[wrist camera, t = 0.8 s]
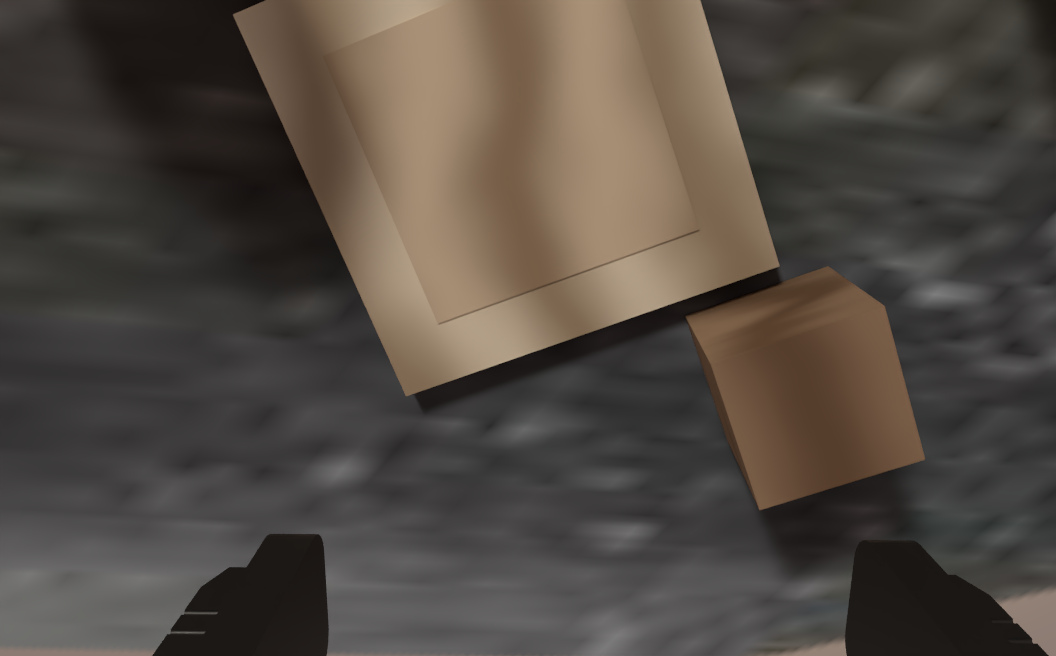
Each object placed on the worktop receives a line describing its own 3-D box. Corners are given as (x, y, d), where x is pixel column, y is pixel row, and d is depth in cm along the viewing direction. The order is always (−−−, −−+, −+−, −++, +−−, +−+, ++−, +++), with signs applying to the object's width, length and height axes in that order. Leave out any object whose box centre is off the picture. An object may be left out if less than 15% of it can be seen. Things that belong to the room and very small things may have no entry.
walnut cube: (827, 265, 33) (884, 305, 27) (863, 395, 34) (925, 459, 28) (684, 315, 33) (710, 364, 28) (726, 439, 35) (759, 510, 29)
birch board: (647, -159, 28) (650, -168, 27) (773, 260, 32) (780, 266, 31) (242, 16, 30) (231, 14, 29) (410, 387, 35) (405, 397, 34)
